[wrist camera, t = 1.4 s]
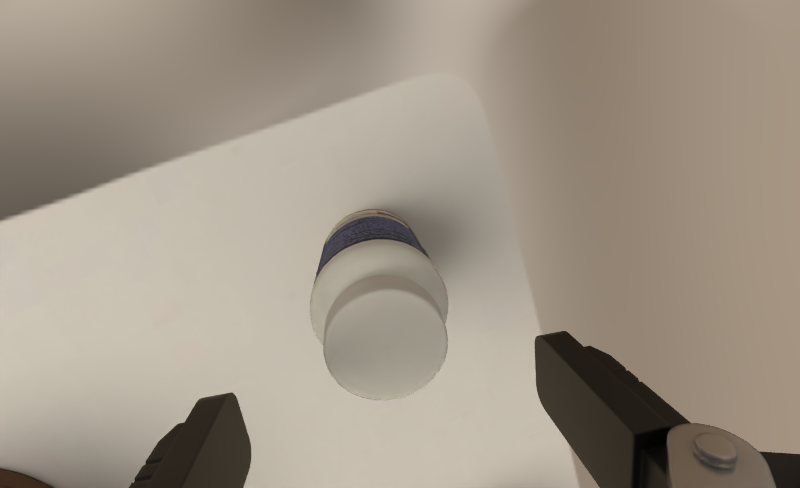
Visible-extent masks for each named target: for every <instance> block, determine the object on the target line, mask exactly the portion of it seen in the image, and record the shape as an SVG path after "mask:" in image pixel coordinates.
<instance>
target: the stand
mask: <svg viewBox="0 0 800 488" xmlns="http://www.w3.org/2000/svg"><path fill="white" fill-rule="evenodd" d="M0 488H51V487H49V486H48V485H46V484H44V483H42V482H40V481H38V480H35V479H33V478H31V477H28V476H25V475H22V474H19V473H15V472H10V471H6V470H1V469H0Z"/></svg>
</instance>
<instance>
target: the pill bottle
mask: <svg viewBox="0 0 800 488" xmlns="http://www.w3.org/2000/svg"><path fill="white" fill-rule="evenodd" d="M447 313H448V296H447V291H446V287H445V284H444V282H443V279H442V277H441V275H440V274H439V272H438V270H437V268H436V267H435V265H434V264H433V262H432V261H431V259H430V258H429V256H428V255H427V253H426V252H425V250H424V248H423V247H422V245H421V243H420V242H419V240H418V239H417V237H416V236H415V234H414V233H413V232H412V230H411V229H410V227H409V226H408V225H407V224H406V223H405V222H404V221H402V220H401V219H400V218H398V217H397V216H395V215H393V214H391V213H388V212H385V211H380V210H365V211H360V212H357V213H354V214H351V215H349V216H347V217H346V218H344V219H343V220H341V221H340V222H339V223H338V224H337V225H336V226H335V227H334V228H333V229H332V231H331V232H330V234H329V235H328V237H327V239H326V241H325V245H324V248H323V252H322V256H321V260H320V263H319V267H318V270H317V273H316V279H315V282H314V286H313V289H312V294H311V301H310V316H311V322H312V326H313V329H314V331H315V333H316V336H317V338H318V339H319V341H320V342H321V344H322V345H323V352H324V358H325V362H326V364H327V367H328V369H329V371H330V373H331V375H332V376H333V378H334V379H335V380H336V381H337V382H338V383H339V384H340V385H341V386H342V387H343V388H344V389H346V390H348V391H349V392H351V393H353V394H355V395H357V396H360V397H363V398H367V399H373V400H391V399H397V398H401V397H404V396H407V395H410V394H412V393H414V392H416V391H418V390H419V389H421V388H422V387H424V386H425V385H426V384H428V383H429V382H430V381H431V380H432V379H433V377H434V376H435V375H436V374H437V373H438V371H439V370H440V368H441V366H442V364H443V362H444V360H445V357H446V353H447V347H448V337H447V330H446V326H445V323H446V319H447Z"/></svg>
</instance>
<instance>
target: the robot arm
mask: <svg viewBox="0 0 800 488" xmlns="http://www.w3.org/2000/svg"><path fill="white" fill-rule="evenodd" d="M535 364H536V386H537V392H538V395H539V398H540V401H541V403H542V405H543V407H544V409H545V411H546V412H547V413H548V415H549V416H550V418H551V419H552V420H553V422H554V423H555V425H556V426H557V428H558V429H559V430H560V432H561V433H562V435H563V436H564V437H565V439H566V440H567V442H568V443H569V445H570V446H571V447H572V449H573V450H574V452H575V453H576V454H577V456H578V457H579V459H580V460H581V462H582V463H583V464H584V466H585V467H586V469H587V470H588V471H589V473H590V474H591V476H592V477H593V478H594V480H595V481H596V483H597V484H598V486H599V487H600V488H800V454H787V453H772V452H759V451H757V450H756V449H755V448H754V447H753V446H751V445H750V444H749V443H748V442H746V441H744V440H743V439H742V438H740V437H738V436H736V435H734V434H732V433H730V432H728V431H726V430H723V429H720V428H717V427H713V426H710V425H705V424H697V423H690V422H689V421H688V420H686V419H685V418H684V417H683V416H682V415H681V414H679V413H678V412H677V411H676V410H675V409H674V408H672V407H671V406H670V405H669V404H668V403H666V402H665V401H664V400H663V399H661V398H660V397H659V396H658V395H657V394H656V393H655V392H653V391H652V390H651V389H650V388H649V387H647V386H646V385H645V384H643V382H639V380H638V378H636V377H635V376H634V375H633V374H632V373H631V372H630V371H626V369H625V367H624V366H622V365H621V364H620V363H619V362H618V361H616V360H615V359H614V358H613V357H612V356H610V355H609V354H606V353H604V352H602V351H600V350H598V349H595V348H593V347H591V346H587V347H583V346H582V345H581V344H580V343H579V342H578V341H577V340H576V339H574V338H573V337H572V336H571V335H570V334H569V333H568V332H566V331H561V332H556V333H550V334H545V335H540V336H537V337H536V339H535ZM250 463H251V444H250V439H249V436H248V433H247V430H246V426H245V423H244V420H243V417H242V413H241V410H240V407H239V404H238V400H237V398H236V396H235V395H234V394H233V393H226V394H221V395H216V396H210V397H205V398H201V399H199V400H198V401H197V403H196V404H195V406H194V408H193V409H192V411H191V413H190V414H189V416H188V418H187V419H186V421H185V423H180V424H177V425H176V426H175V427H174V428H173V429H172V430H171V431H170V432H169V433H168V434H167V435H165V436H164V437H163V438H162V439H161V440H160V441H159V442H158V443H157V445H156V447H155V448H154V450H153V451H152V453H151V454H150V456H149V457H148V459H147V460H146V465H144V466H143V467H142V468H141V470H140V471H139V473H138V474H137V476H136V477H135V482H134V483H132V484H131V485H130V487H129V488H243V487H244V484H245V481H246V477H247V474H248V471H249V468H250Z"/></svg>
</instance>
